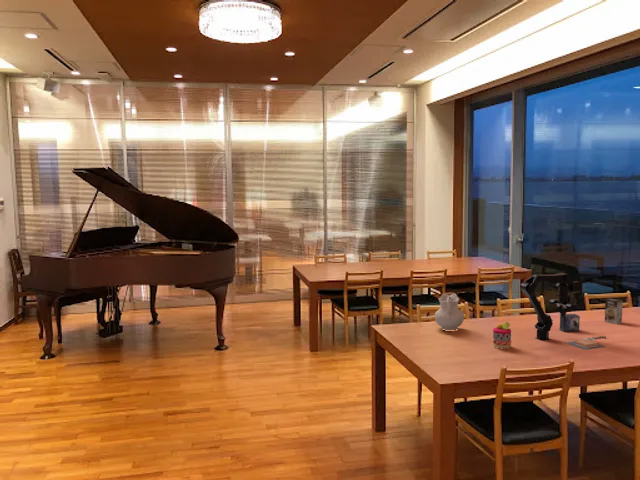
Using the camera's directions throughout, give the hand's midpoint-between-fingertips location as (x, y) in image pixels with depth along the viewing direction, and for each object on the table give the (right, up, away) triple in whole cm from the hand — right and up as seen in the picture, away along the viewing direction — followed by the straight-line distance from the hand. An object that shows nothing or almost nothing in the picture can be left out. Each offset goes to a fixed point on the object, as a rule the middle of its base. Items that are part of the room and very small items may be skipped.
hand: (563, 317), depth 334 cm
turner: (+18, -13, -4) cm, 22 cm away
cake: (-43, -16, -13) cm, 48 cm away
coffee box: (+51, -9, +35) cm, 62 cm away
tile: (+5, -13, -13) cm, 19 cm away
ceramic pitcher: (-65, -13, +28) cm, 72 cm away
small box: (+12, -11, +17) cm, 24 cm away
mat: (+6, -14, -16) cm, 22 cm away
